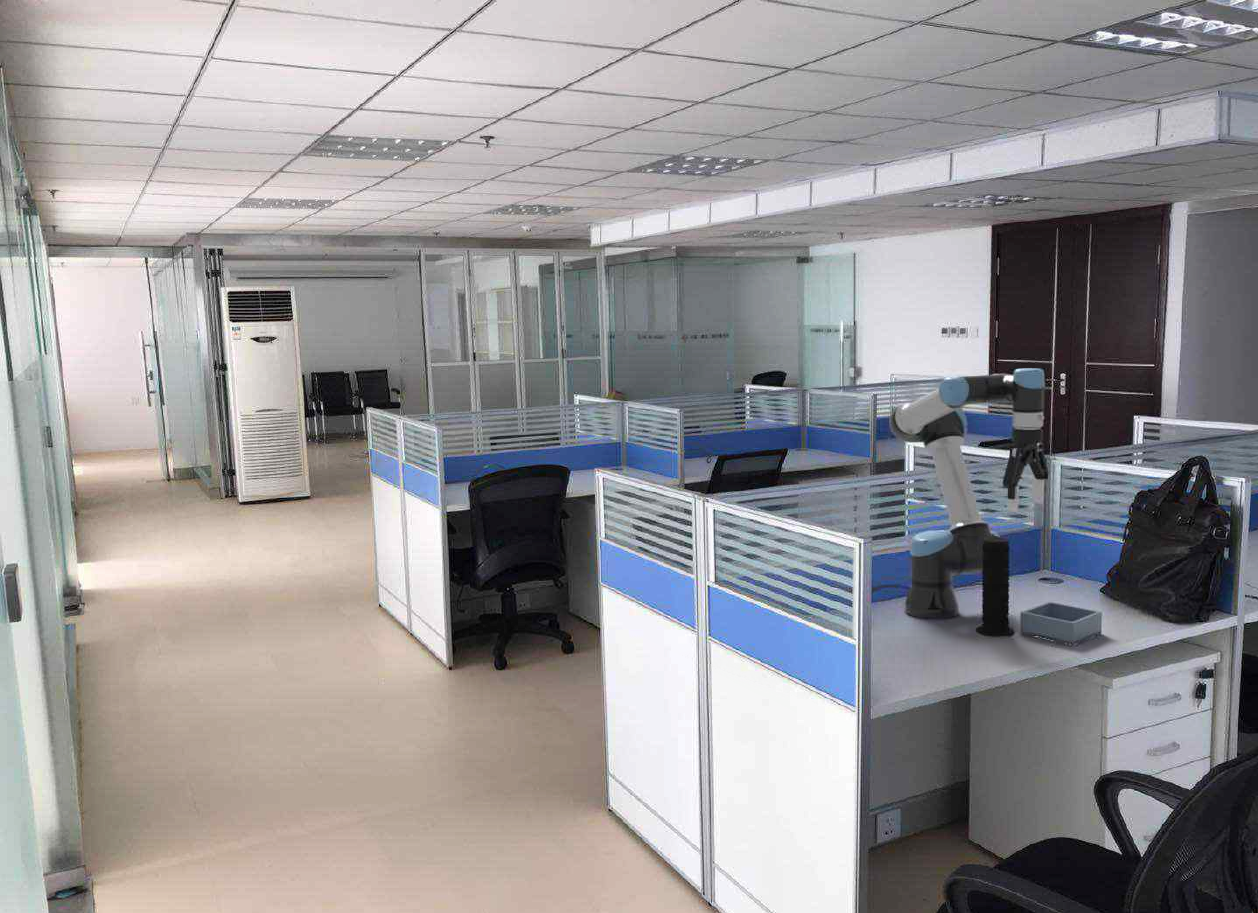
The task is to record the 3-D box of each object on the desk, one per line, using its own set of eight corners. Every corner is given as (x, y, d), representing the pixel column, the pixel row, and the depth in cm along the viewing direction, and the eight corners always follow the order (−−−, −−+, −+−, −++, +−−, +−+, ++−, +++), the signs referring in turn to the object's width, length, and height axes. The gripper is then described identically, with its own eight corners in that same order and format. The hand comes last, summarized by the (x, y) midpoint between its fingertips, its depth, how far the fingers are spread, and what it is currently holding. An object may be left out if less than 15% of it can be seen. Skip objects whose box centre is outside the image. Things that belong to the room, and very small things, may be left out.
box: (1020, 633, 260) (1020, 612, 259) (1048, 622, 269) (1049, 601, 268) (1073, 646, 248) (1073, 623, 248) (1101, 633, 257) (1101, 611, 256)
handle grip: (978, 636, 259) (1018, 637, 257) (979, 539, 256) (1019, 539, 254) (973, 625, 269) (1011, 626, 267) (973, 532, 265) (1012, 532, 263)
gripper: (1017, 433, 243) (1015, 516, 246) (1063, 423, 259) (1061, 501, 262) (989, 431, 249) (987, 512, 252) (1036, 422, 265) (1034, 498, 268)
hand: (1025, 507), depth 257 cm, fingers open, 13 cm apart
